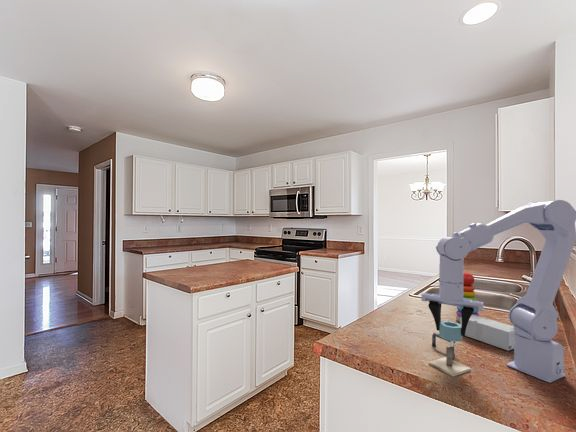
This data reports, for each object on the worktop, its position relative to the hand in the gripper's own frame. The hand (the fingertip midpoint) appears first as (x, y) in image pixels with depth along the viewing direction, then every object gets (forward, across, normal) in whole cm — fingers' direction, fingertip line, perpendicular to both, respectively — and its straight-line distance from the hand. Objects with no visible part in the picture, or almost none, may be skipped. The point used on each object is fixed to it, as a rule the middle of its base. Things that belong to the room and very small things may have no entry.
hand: (450, 332), depth 80 cm
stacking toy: (+9, +1, -42) cm, 43 cm away
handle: (+8, +3, -6) cm, 11 cm away
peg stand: (+8, 0, +2) cm, 9 cm away
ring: (+1, 0, 0) cm, 1 cm away
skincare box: (+6, 0, -28) cm, 29 cm away
